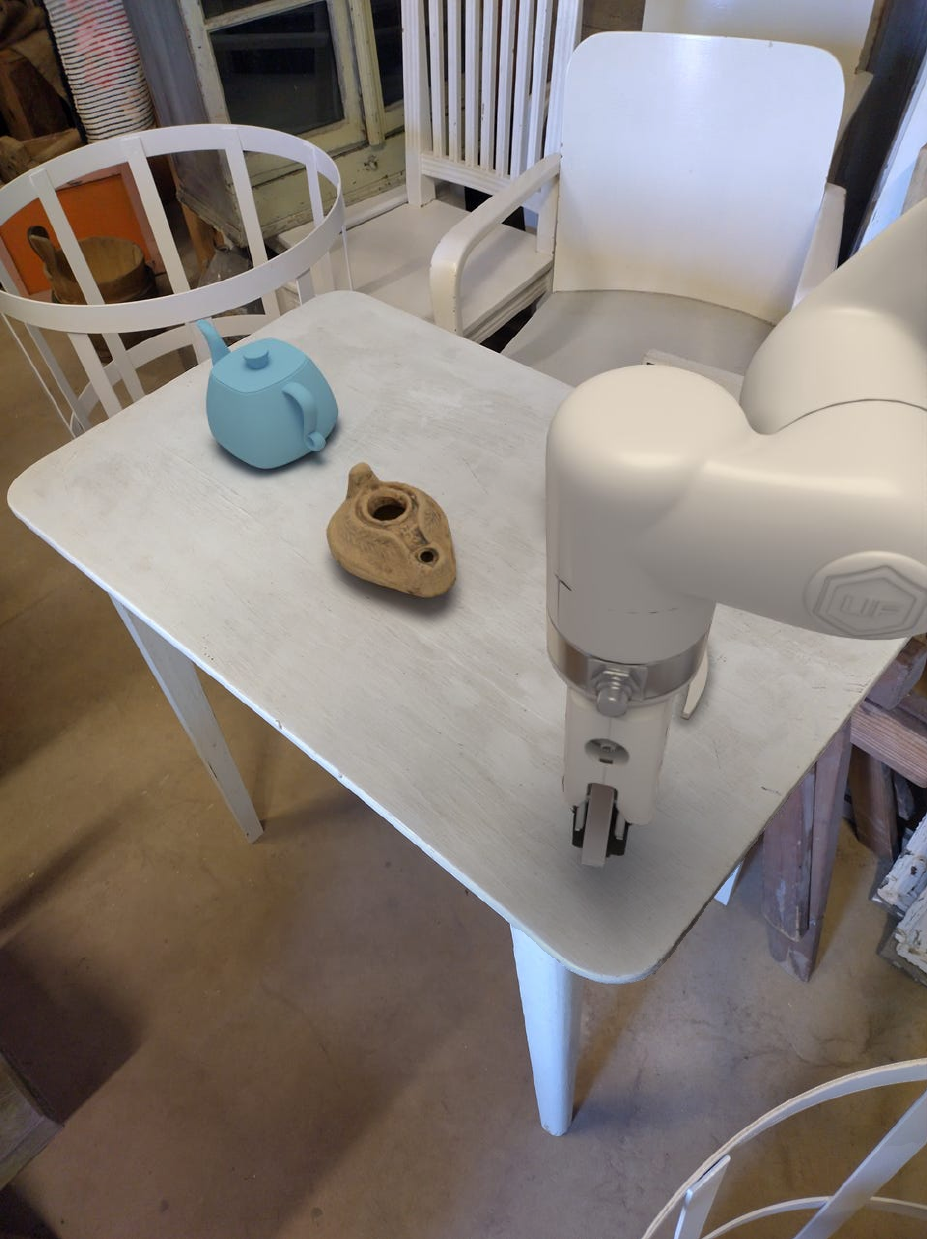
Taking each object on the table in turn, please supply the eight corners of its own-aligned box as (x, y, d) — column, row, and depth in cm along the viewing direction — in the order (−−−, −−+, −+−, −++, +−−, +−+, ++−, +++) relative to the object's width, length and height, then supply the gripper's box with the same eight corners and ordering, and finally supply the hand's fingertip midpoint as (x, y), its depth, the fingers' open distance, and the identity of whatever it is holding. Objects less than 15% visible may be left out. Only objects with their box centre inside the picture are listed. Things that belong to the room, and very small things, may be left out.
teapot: (243, 290, 88) (354, 348, 79) (267, 376, 96) (371, 436, 88) (144, 342, 82) (252, 410, 74) (179, 428, 91) (280, 498, 82)
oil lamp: (416, 641, 70) (405, 578, 63) (307, 557, 77) (288, 493, 71) (503, 570, 74) (501, 505, 68) (393, 497, 81) (382, 432, 75)
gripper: (692, 802, 32) (649, 948, 46) (719, 509, 43) (678, 701, 57) (508, 767, 34) (520, 918, 48) (577, 493, 44) (571, 683, 58)
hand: (606, 799), depth 52 cm, fingers closed on light bulb, 5 cm apart
